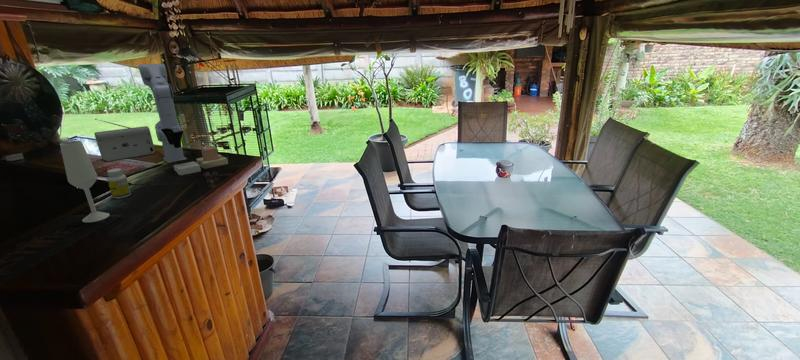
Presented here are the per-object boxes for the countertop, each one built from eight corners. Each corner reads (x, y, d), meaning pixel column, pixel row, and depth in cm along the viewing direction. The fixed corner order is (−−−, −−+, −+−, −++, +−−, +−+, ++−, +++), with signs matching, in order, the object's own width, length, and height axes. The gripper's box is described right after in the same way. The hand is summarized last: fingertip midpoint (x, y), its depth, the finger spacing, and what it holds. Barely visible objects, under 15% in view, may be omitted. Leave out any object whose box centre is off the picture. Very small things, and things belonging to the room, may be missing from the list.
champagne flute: (87, 224, 106) (60, 147, 97) (78, 219, 109) (51, 143, 101) (113, 215, 111) (90, 141, 103) (104, 211, 115) (80, 138, 106)
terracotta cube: (202, 158, 159) (200, 147, 158) (214, 156, 163) (212, 145, 161) (207, 161, 156) (205, 150, 154) (218, 158, 160) (216, 148, 158)
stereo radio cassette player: (154, 150, 180) (144, 111, 173) (157, 154, 175) (147, 113, 168) (102, 159, 167) (88, 117, 160) (103, 163, 162) (90, 119, 154)
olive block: (197, 165, 161) (195, 158, 160) (220, 160, 167) (218, 154, 166) (205, 170, 154) (203, 163, 153) (228, 164, 161) (227, 158, 160)
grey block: (175, 171, 151) (173, 165, 150) (195, 167, 157) (194, 161, 156) (180, 176, 146) (178, 169, 145) (201, 171, 151) (199, 165, 150)
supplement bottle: (109, 197, 125) (101, 171, 122) (126, 192, 130) (118, 166, 126) (117, 200, 123) (109, 173, 119) (134, 194, 127) (127, 169, 124)
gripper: (152, 113, 149) (160, 144, 154) (161, 117, 139) (169, 151, 144) (171, 111, 154) (178, 141, 159) (181, 115, 144) (188, 147, 149)
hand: (175, 146), depth 152 cm, fingers open, 7 cm apart
